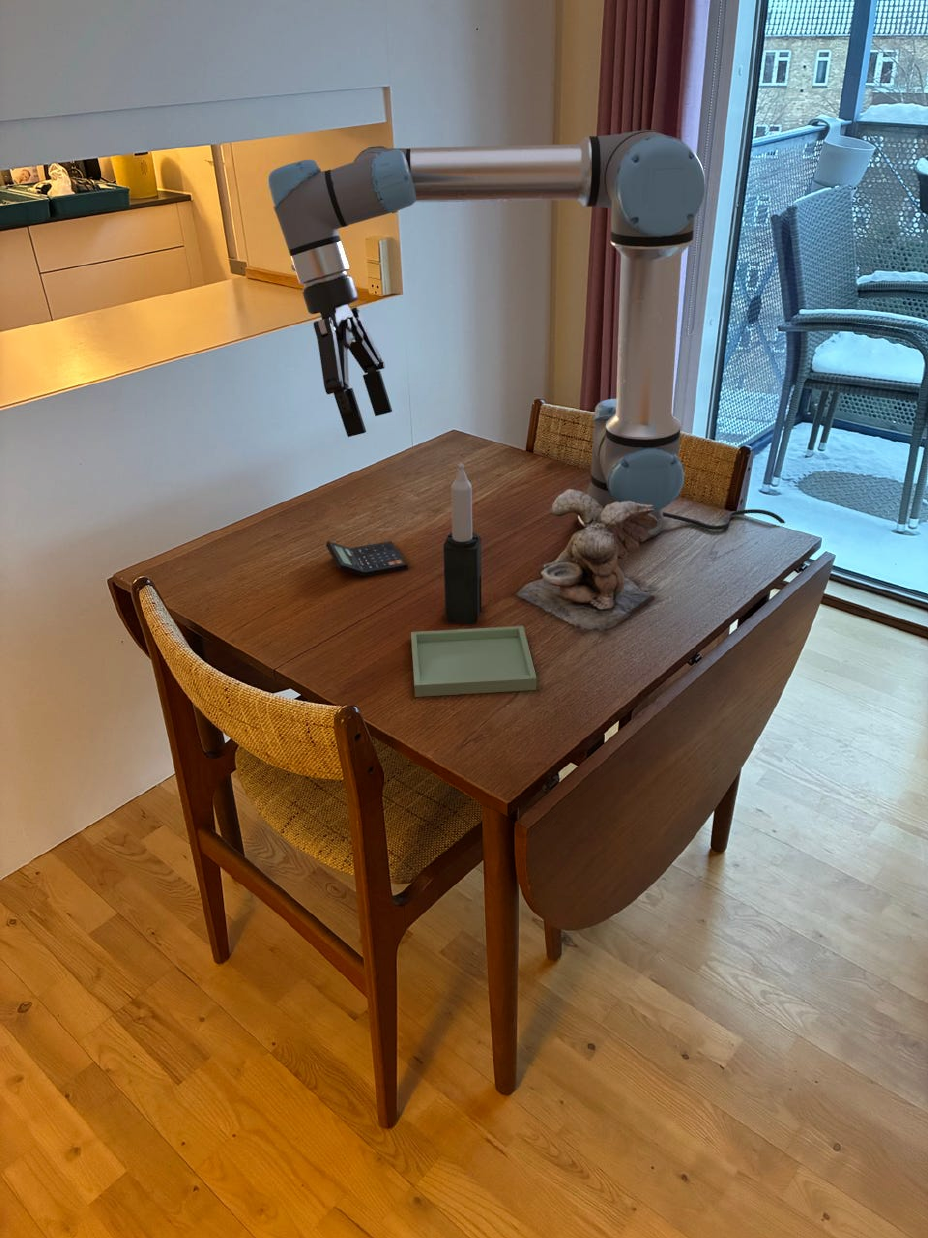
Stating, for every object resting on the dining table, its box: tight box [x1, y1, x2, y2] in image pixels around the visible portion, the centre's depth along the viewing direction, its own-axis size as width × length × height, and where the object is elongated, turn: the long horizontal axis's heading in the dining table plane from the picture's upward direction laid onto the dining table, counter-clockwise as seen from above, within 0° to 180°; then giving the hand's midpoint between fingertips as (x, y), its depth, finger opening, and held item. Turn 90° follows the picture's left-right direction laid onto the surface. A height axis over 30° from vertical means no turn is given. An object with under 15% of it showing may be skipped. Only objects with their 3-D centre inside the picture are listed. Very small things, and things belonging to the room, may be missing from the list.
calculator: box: [325, 540, 409, 578], centre depth 163 cm, size 9×12×3 cm
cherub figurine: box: [515, 488, 658, 634], centre depth 149 cm, size 18×18×18 cm
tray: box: [410, 625, 538, 698], centre depth 136 cm, size 17×14×2 cm
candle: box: [442, 462, 482, 625], centre depth 142 cm, size 5×5×25 cm
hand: (371, 423), depth 145 cm, fingers open, 13 cm apart
